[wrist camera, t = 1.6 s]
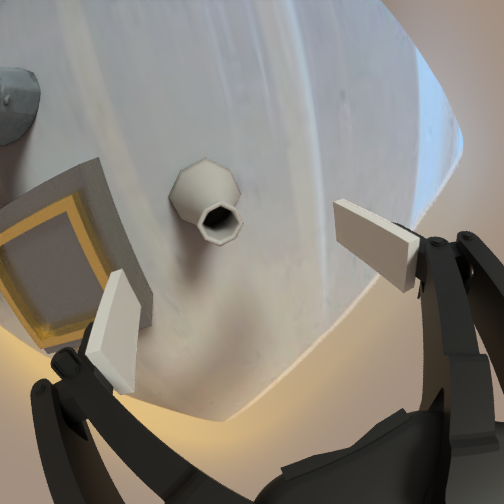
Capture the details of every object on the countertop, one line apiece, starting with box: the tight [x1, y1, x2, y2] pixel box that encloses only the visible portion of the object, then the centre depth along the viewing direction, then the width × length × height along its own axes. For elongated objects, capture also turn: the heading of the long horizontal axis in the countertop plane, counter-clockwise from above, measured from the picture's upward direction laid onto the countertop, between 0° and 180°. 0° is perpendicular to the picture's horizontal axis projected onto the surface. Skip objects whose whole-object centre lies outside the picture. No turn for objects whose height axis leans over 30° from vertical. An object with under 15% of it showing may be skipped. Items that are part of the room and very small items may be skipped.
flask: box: [169, 158, 244, 246], centre depth 24 cm, size 7×7×10 cm
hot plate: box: [0, 157, 153, 354], centre depth 23 cm, size 19×15×8 cm
